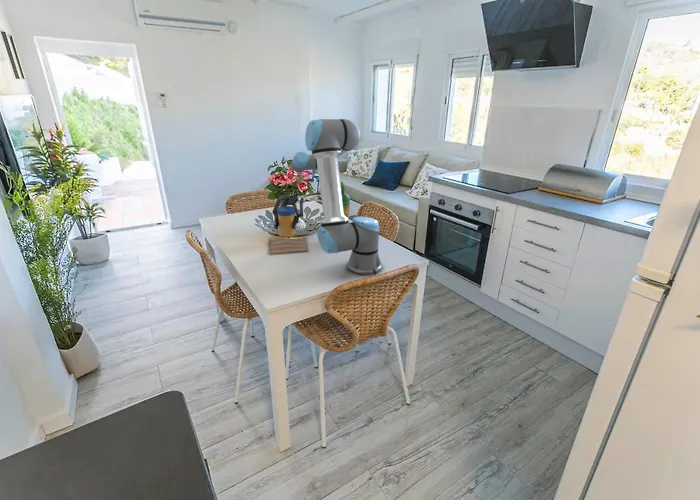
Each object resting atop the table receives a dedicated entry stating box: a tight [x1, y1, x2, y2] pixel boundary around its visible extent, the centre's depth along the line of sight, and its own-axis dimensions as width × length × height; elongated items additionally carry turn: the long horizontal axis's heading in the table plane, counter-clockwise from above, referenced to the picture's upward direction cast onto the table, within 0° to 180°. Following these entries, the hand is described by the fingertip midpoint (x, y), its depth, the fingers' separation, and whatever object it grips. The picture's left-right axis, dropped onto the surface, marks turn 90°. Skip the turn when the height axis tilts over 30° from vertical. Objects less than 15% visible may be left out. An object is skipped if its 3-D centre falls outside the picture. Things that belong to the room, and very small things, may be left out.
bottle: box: [340, 180, 351, 221], centre depth 198 cm, size 11×11×28 cm
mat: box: [270, 236, 308, 255], centre depth 181 cm, size 20×18×1 cm
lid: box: [277, 205, 296, 216], centre depth 174 cm, size 9×9×2 cm
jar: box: [278, 213, 297, 237], centre depth 176 cm, size 8×8×13 cm
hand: (285, 227), depth 174 cm, fingers closed on jar, 8 cm apart
